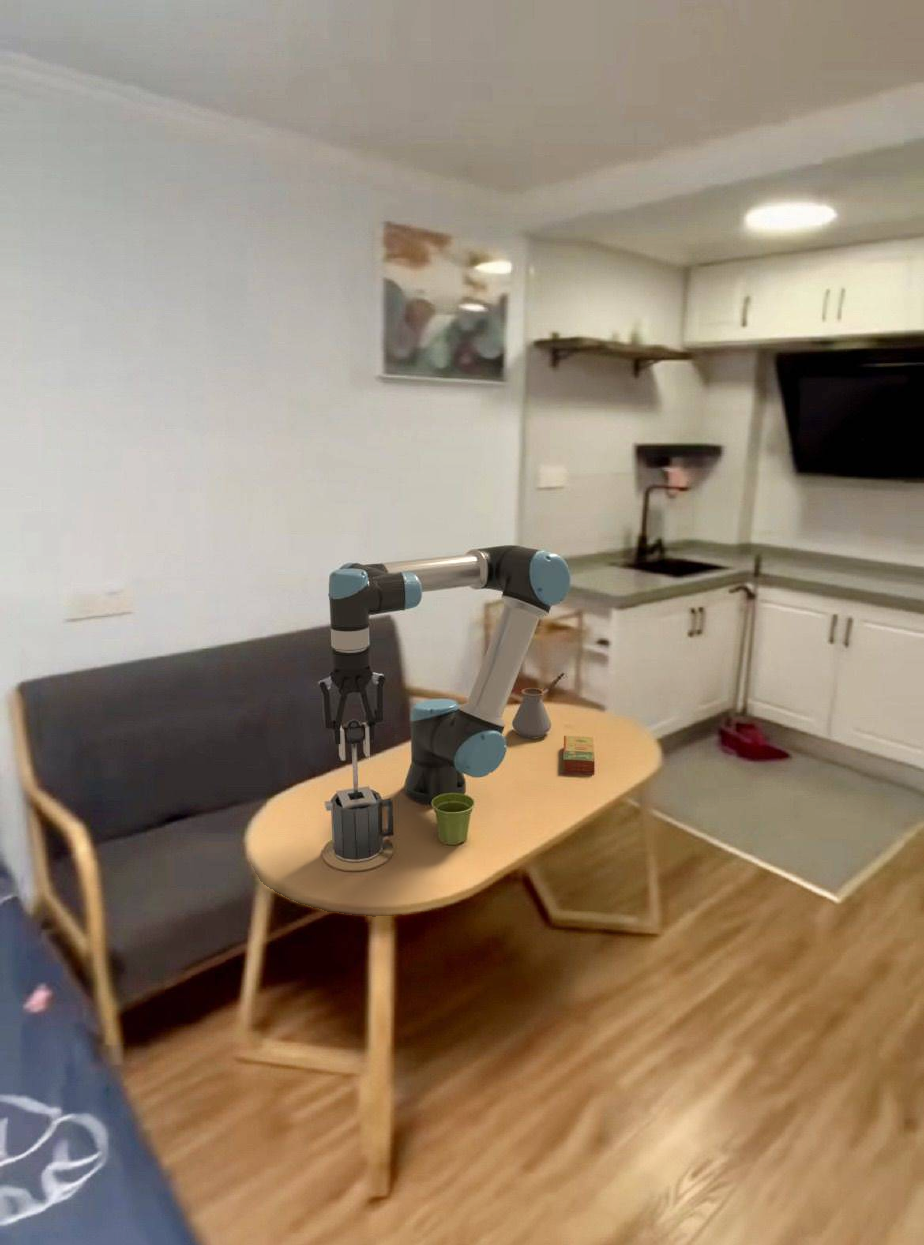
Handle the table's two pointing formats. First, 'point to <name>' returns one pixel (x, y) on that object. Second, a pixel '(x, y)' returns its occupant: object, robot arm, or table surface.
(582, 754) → the carton
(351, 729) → the plunger
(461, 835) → the plant pot
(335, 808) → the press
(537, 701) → the coffee pot
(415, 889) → the table surface
